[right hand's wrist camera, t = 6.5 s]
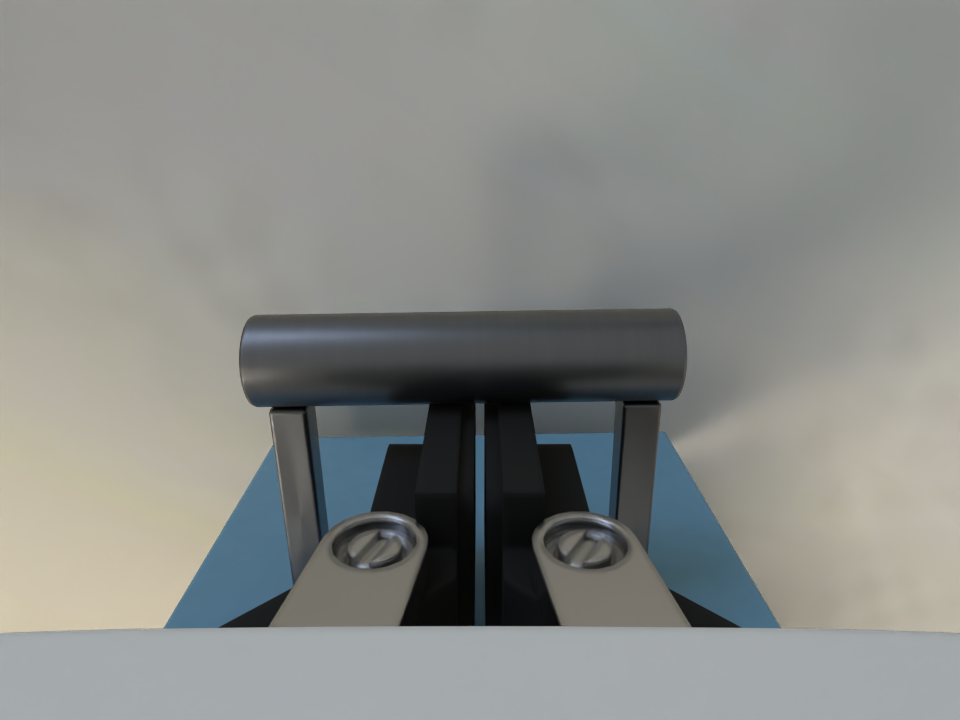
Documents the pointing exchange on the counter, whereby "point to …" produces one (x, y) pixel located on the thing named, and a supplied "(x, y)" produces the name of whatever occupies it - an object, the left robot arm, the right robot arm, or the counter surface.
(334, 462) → the drawer
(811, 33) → the counter surface
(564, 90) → the counter surface
